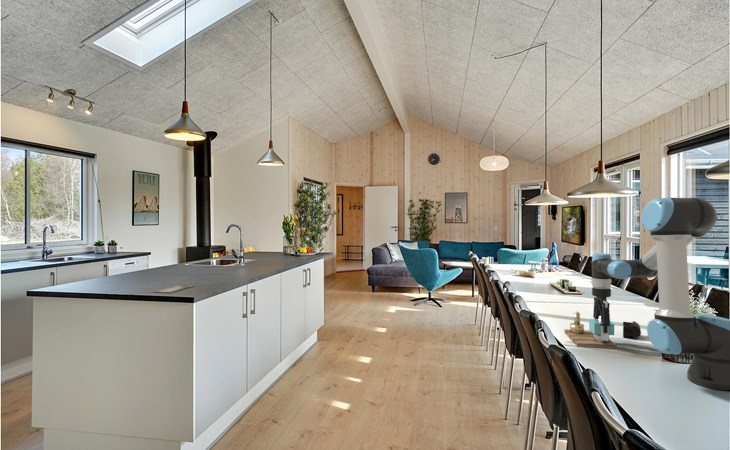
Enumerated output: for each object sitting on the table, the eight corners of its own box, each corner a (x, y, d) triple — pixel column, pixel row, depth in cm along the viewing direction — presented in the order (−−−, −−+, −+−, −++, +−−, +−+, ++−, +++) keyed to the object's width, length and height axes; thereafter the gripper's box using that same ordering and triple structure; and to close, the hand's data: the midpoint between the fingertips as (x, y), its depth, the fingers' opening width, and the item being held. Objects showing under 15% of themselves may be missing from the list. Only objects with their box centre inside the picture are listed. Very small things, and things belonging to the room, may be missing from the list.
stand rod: (611, 343, 186) (610, 317, 186) (596, 342, 188) (596, 316, 187) (606, 339, 192) (606, 314, 192) (592, 338, 193) (592, 313, 193)
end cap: (641, 340, 195) (641, 326, 195) (623, 338, 199) (623, 324, 199) (640, 335, 204) (640, 321, 204) (623, 333, 208) (623, 320, 207)
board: (616, 348, 184) (616, 345, 184) (577, 346, 187) (577, 343, 187) (599, 333, 207) (599, 330, 207) (564, 332, 211) (564, 329, 211)
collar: (614, 335, 185) (614, 324, 185) (594, 334, 187) (594, 323, 187) (608, 330, 193) (608, 319, 193) (589, 329, 195) (589, 319, 195)
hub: (585, 334, 201) (585, 313, 200) (571, 334, 202) (571, 312, 202) (581, 331, 206) (581, 310, 206) (568, 330, 208) (568, 310, 208)
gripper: (618, 291, 178) (619, 344, 179) (603, 284, 199) (603, 331, 199) (599, 291, 180) (599, 343, 181) (585, 283, 200) (585, 330, 201)
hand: (601, 337), depth 190 cm, fingers closed on collar, 8 cm apart
